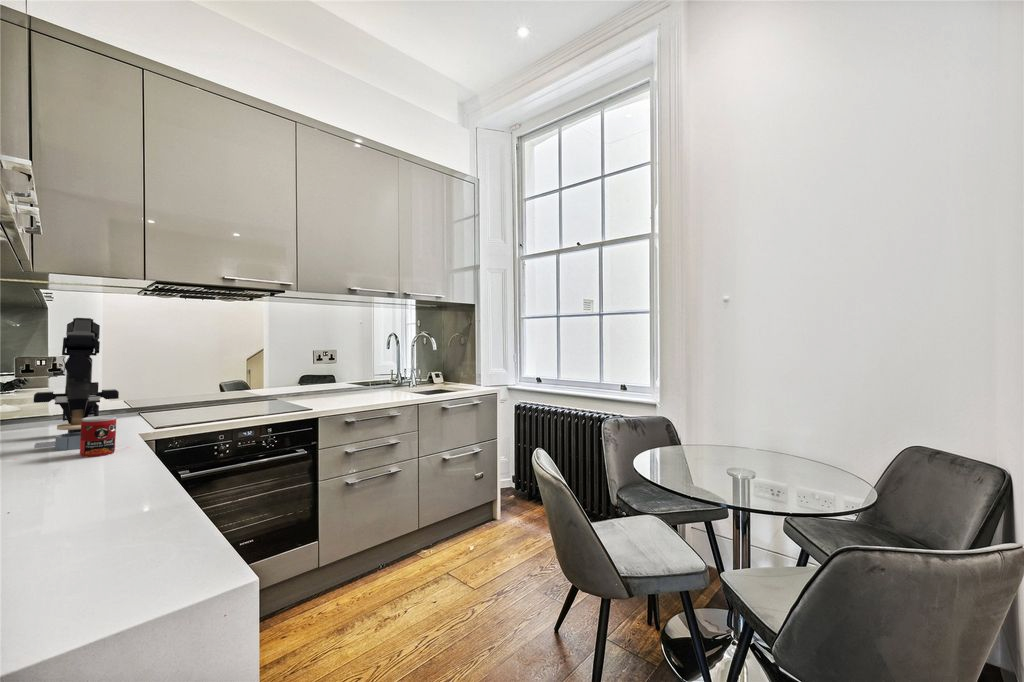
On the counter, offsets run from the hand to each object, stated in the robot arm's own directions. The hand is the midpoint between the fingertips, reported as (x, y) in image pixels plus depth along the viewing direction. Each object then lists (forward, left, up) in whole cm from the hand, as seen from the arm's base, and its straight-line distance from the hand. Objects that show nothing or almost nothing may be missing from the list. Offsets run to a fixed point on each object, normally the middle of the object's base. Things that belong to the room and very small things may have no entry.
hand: (76, 423), depth 136 cm
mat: (-11, -5, -8) cm, 14 cm away
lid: (0, 0, -1) cm, 1 cm away
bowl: (0, 0, -8) cm, 8 cm away
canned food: (+14, +5, -8) cm, 17 cm away
